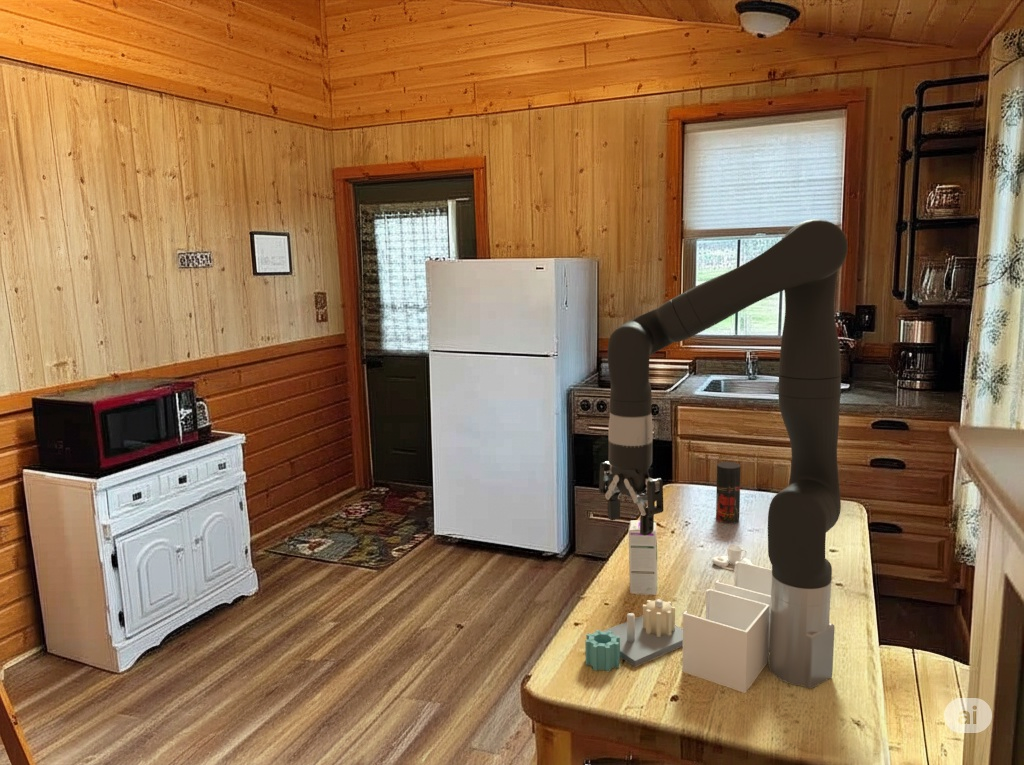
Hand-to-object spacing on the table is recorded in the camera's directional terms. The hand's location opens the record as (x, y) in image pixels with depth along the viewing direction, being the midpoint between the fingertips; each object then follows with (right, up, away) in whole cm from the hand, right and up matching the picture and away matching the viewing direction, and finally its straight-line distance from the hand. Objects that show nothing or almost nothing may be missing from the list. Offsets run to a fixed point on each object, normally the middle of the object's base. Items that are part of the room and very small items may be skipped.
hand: (629, 526), depth 128 cm
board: (+4, -23, +7) cm, 24 cm away
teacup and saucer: (+28, -16, +40) cm, 52 cm away
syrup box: (+7, -19, +27) cm, 34 cm away
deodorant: (+36, -11, +64) cm, 74 cm away
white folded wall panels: (+20, -23, +3) cm, 31 cm away
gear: (-5, -24, 0) cm, 25 cm away
